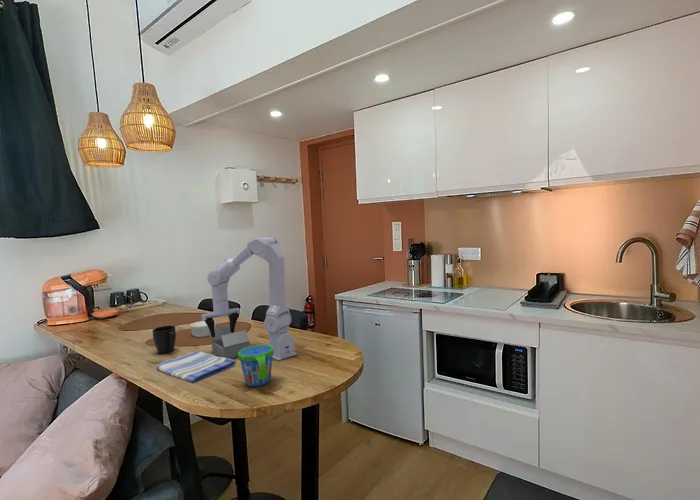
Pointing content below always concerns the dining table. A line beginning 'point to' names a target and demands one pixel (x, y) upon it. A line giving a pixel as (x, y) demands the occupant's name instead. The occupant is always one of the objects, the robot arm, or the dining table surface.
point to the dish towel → (195, 366)
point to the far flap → (220, 332)
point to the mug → (164, 339)
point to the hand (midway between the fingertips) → (223, 334)
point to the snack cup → (256, 364)
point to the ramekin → (200, 329)
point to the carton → (227, 349)
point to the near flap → (234, 338)
